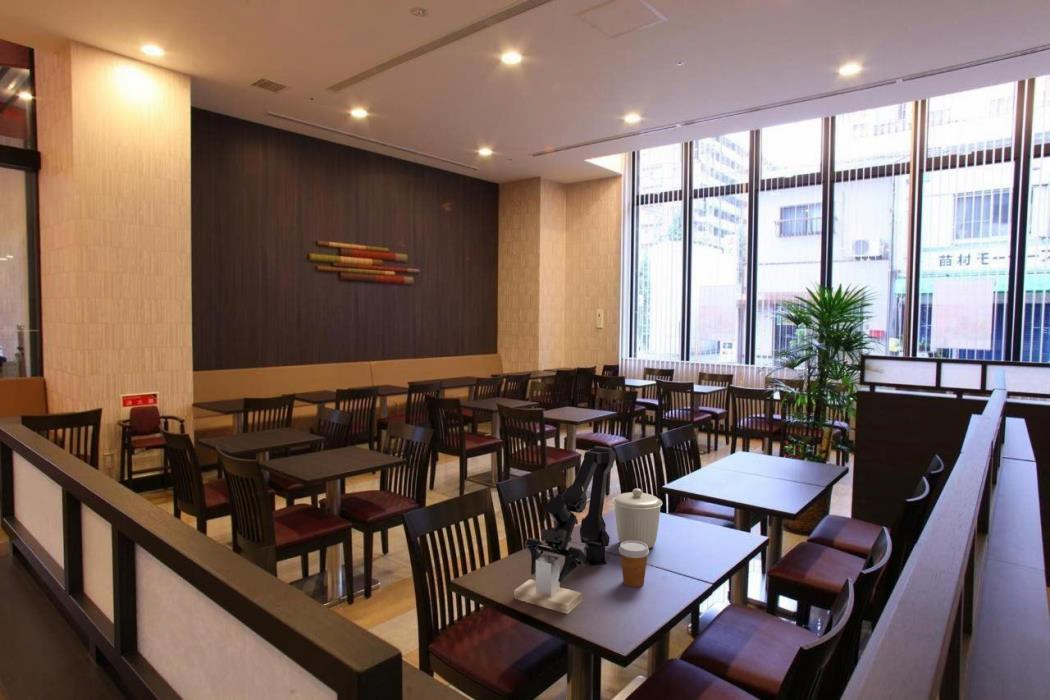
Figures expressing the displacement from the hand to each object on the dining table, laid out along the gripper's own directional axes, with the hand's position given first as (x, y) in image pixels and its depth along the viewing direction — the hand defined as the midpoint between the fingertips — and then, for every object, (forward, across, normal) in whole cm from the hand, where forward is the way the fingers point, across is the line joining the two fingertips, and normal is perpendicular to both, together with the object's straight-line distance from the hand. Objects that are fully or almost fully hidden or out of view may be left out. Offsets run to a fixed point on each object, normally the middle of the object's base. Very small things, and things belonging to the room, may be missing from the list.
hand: (545, 578), depth 176 cm
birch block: (+4, 0, +6) cm, 7 cm away
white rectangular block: (+2, 0, +4) cm, 5 cm away
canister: (-34, +7, +45) cm, 57 cm away
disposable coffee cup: (-13, +18, +23) cm, 32 cm away
